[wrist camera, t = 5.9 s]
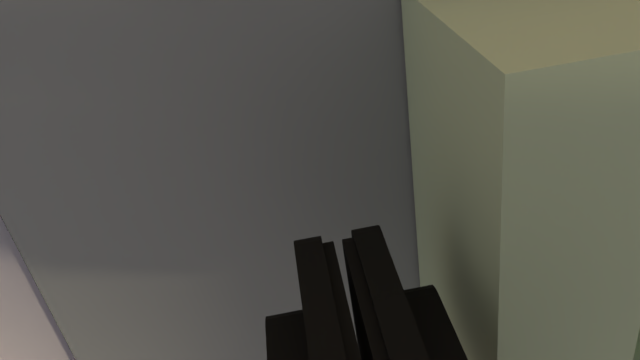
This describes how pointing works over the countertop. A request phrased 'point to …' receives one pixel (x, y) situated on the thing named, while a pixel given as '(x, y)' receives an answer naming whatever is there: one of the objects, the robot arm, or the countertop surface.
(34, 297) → the countertop surface
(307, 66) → the grey l-shaped plate
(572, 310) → the socket block
